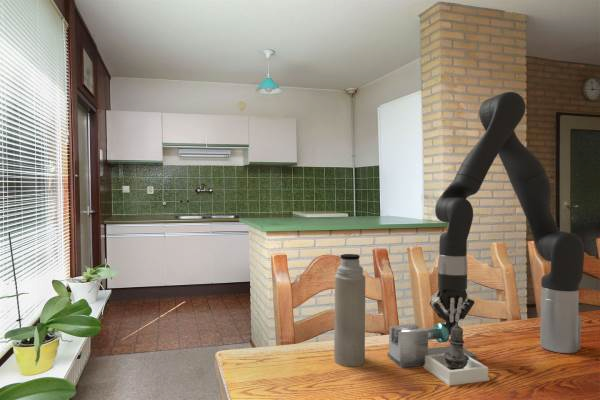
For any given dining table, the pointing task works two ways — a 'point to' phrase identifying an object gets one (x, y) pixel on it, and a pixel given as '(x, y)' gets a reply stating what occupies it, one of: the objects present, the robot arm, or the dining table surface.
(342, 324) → the thermos bottle
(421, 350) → the bearing block
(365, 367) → the dining table surface
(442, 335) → the shaft
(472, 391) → the dining table surface
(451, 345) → the dark grey turned piece
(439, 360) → the holder
